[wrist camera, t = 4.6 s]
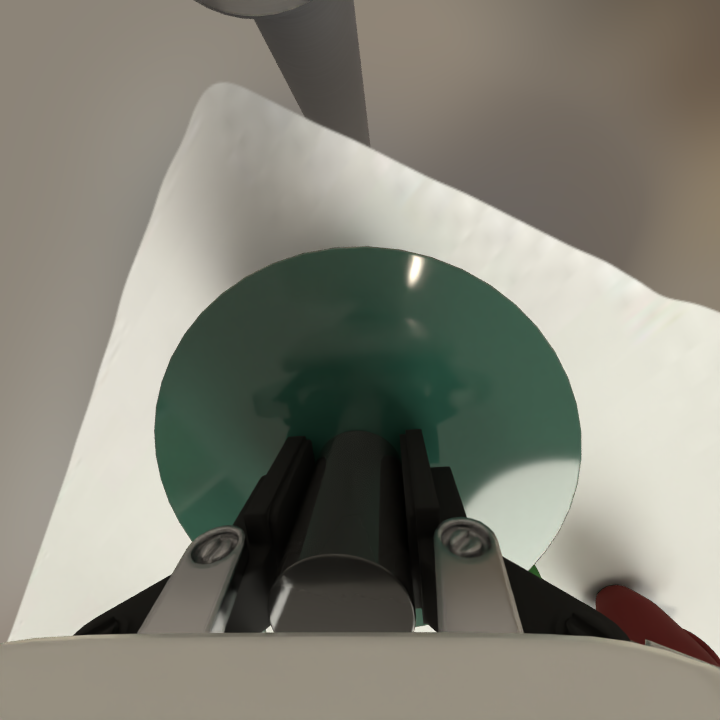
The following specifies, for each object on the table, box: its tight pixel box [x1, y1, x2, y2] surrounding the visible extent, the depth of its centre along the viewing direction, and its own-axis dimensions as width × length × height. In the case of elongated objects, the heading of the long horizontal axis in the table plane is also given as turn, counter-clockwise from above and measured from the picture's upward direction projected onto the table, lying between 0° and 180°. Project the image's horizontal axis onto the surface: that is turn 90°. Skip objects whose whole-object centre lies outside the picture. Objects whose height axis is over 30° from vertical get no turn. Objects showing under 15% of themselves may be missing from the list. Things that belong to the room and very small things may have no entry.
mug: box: [596, 585, 720, 667], centre depth 33 cm, size 10×8×10 cm
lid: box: [154, 246, 581, 633], centre depth 10 cm, size 15×15×6 cm
